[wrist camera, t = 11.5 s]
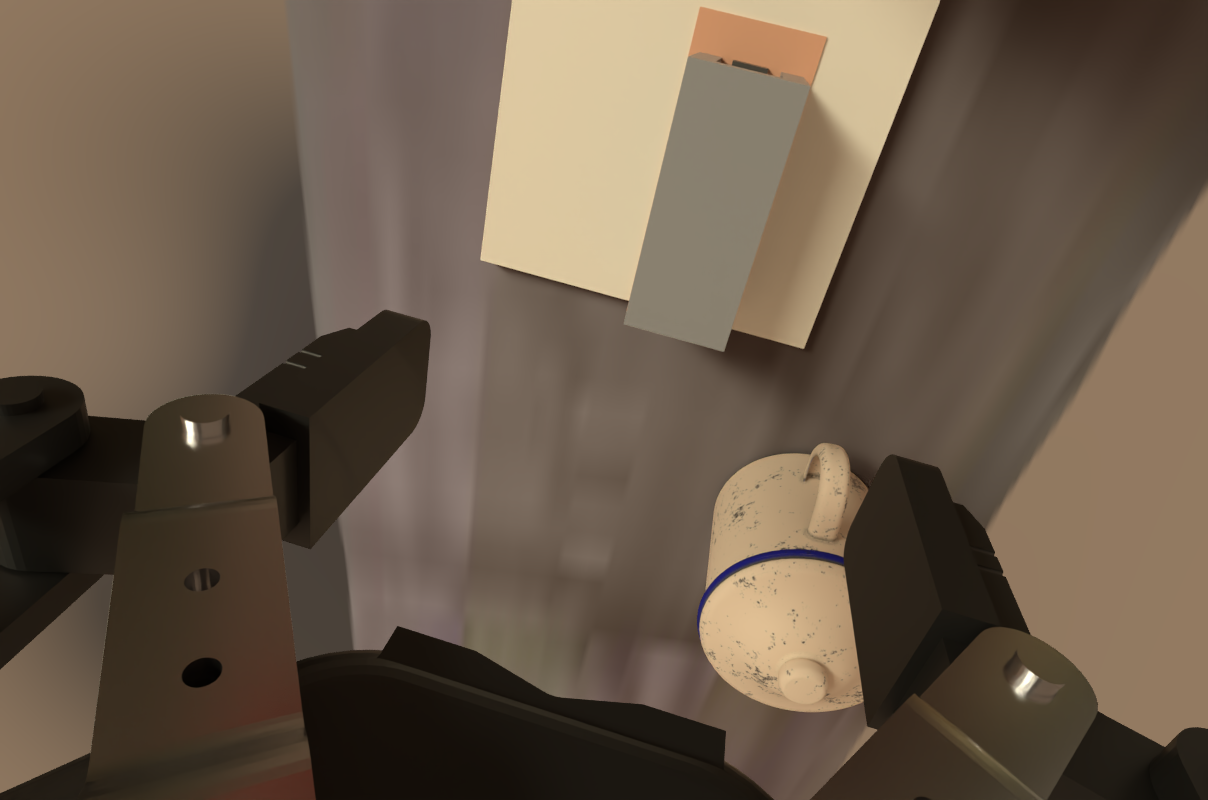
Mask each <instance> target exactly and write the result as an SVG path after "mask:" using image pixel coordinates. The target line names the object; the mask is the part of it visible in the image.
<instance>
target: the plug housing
mask: <svg viewBox="0 0 1208 800" xmlns="http://www.w3.org/2000/svg"><path fill="white" fill-rule="evenodd" d="M721 60H722V57H719V56H715V55H711V54H706V53H702V52H699V53H696V54H693V55H690V56H688V58H687V63H686V67H685V71H684V75H683V79H682V83H681V87H680V92H679V96H678V100H677V104H676V108H675V112H674V116H673V121H672V125H671V129H670V133H669V137H668V141H667V146H666V150H665V154H664V158H663V162H662V166H661V170H660V175H659V179H658V183H657V187H656V191H655V195H654V199H653V204H652V208H651V212H650V216H649V220H648V224H647V229H646V233H645V237H644V241H643V245H642V249H641V253H640V258H639V262H638V266H637V270H636V274H635V278H634V283H633V287H632V291H631V295H630V299H629V303H628V307H627V312H626V316H625V320H624V324H625V325H628V326H632V327H636V328H639V329H643V330H646V331H650V332H654V333H657V334H661V335H664V336H668V337H672V338H675V339H679V340H683V341H686V342H690V343H693V344H697V345H701V346H704V347H708V348H711V349H715V350H719V351H722V352H724V350H725V347H726V344H727V341H728V338H729V335H730V332H731V329H732V326H733V323H734V320H735V317H736V313H737V310H738V307H739V304H740V301H741V298H742V295H743V292H744V289H745V286H746V283H747V280H748V277H749V274H750V271H751V268H752V265H753V262H754V258H755V255H756V252H757V249H758V246H759V243H760V240H761V237H762V234H763V231H764V228H765V225H766V222H767V219H768V216H769V213H770V210H771V207H772V204H773V200H774V197H775V194H776V191H777V188H778V185H779V182H780V179H781V176H782V173H783V170H784V167H785V164H786V161H787V158H788V155H789V152H790V149H791V145H792V142H793V139H794V136H795V133H796V130H797V127H798V124H799V121H800V118H801V115H802V112H803V109H804V106H805V103H806V100H807V97H808V94H809V90H810V87H811V86H810V85H809V84H808V82H807V81H806V80H805V78H804V77H801V76H796V75H792V74H788V73H784V72H781V75H780V77H777V76H773V75H769V74H765V73H761V72H756V71H752V70H748V69H744V68H740V67H736V66H732V65H728V64H724V63H721Z"/></svg>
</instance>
